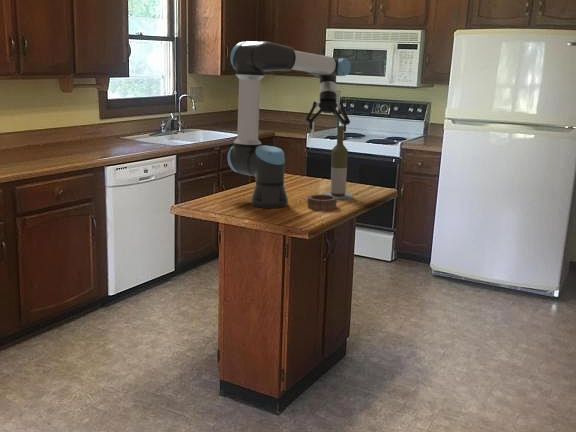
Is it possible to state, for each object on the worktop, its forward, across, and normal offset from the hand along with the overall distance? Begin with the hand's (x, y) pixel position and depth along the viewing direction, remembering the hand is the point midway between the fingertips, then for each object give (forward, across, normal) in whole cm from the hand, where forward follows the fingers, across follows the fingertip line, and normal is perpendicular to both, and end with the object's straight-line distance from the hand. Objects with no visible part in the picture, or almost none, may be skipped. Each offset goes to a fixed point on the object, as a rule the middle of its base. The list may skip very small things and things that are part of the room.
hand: (327, 137), depth 289 cm
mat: (+28, -4, +3) cm, 28 cm away
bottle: (+27, -4, +3) cm, 28 cm away
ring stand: (+37, +6, +21) cm, 43 cm away
